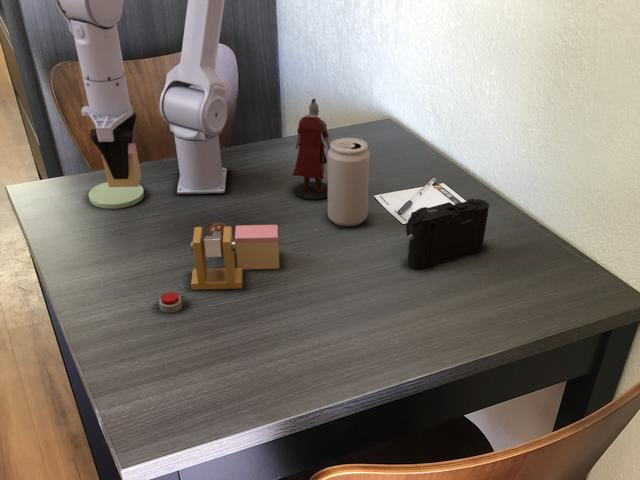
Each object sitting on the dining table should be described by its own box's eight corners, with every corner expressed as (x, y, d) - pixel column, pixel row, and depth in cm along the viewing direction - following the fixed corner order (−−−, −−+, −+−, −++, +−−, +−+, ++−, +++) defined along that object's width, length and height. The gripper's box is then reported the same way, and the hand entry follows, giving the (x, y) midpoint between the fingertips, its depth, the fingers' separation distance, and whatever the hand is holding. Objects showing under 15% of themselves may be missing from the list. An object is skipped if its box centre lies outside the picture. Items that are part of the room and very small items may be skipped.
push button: (167, 315, 97) (166, 305, 96) (155, 305, 99) (153, 296, 98) (186, 306, 99) (185, 297, 98) (174, 297, 100) (172, 288, 99)
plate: (94, 185, 125) (93, 180, 125) (147, 184, 126) (146, 179, 125) (85, 209, 119) (83, 204, 118) (141, 208, 119) (140, 203, 119)
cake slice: (112, 176, 112) (105, 143, 108) (141, 175, 112) (135, 143, 109) (108, 187, 109) (101, 154, 106) (138, 186, 109) (132, 153, 106)
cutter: (210, 241, 111) (208, 220, 110) (230, 240, 111) (228, 220, 110) (202, 259, 99) (200, 237, 98) (224, 259, 99) (223, 236, 98)
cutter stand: (193, 274, 105) (187, 227, 100) (242, 272, 105) (238, 225, 100) (191, 290, 102) (184, 242, 97) (242, 289, 102) (237, 241, 97)
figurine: (339, 187, 126) (340, 95, 116) (323, 204, 121) (323, 110, 111) (303, 180, 128) (302, 89, 117) (286, 197, 123) (283, 104, 112)
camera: (462, 230, 115) (469, 181, 110) (490, 250, 111) (499, 199, 105) (386, 252, 110) (389, 201, 104) (413, 273, 106) (418, 222, 100)
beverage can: (363, 230, 115) (366, 154, 106) (323, 226, 116) (323, 150, 107) (370, 212, 119) (373, 138, 111) (331, 208, 120) (332, 134, 112)
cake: (238, 256, 109) (235, 225, 105) (278, 255, 109) (277, 224, 105) (238, 269, 106) (235, 238, 102) (279, 268, 106) (277, 237, 103)
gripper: (83, 58, 105) (103, 152, 115) (64, 93, 95) (88, 193, 104) (132, 58, 106) (148, 151, 115) (119, 92, 95) (138, 192, 105)
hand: (123, 171), depth 110 cm, fingers closed on cake slice, 4 cm apart
